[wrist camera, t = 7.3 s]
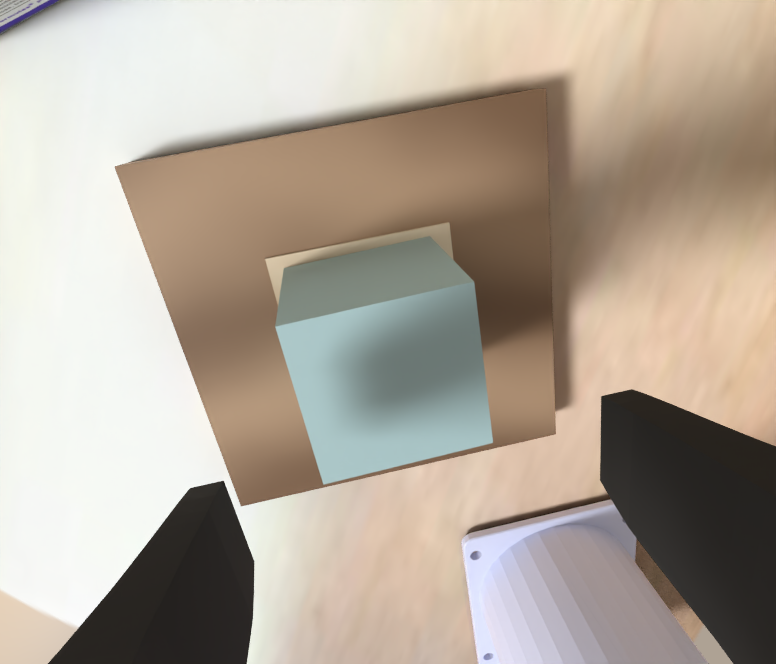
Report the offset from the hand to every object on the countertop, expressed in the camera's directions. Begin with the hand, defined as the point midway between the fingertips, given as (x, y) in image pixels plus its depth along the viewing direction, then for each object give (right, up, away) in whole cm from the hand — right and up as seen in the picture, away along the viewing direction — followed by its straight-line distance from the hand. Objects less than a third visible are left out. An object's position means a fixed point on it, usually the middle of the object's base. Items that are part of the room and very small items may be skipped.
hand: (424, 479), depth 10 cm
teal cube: (-1, +3, +7) cm, 7 cm away
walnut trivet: (-1, +3, +8) cm, 9 cm away
